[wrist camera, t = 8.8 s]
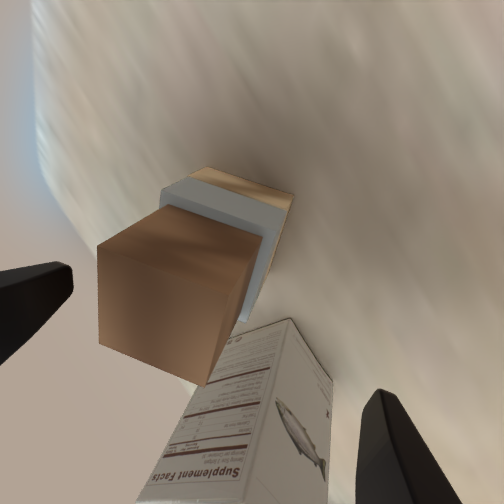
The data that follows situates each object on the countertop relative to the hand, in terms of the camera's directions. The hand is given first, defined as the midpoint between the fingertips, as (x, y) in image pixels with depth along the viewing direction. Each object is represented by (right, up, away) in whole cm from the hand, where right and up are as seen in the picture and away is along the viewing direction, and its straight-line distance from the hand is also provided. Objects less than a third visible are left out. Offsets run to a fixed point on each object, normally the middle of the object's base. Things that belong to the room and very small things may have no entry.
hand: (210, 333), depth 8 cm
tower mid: (0, +3, +10) cm, 11 cm away
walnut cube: (-1, +2, +8) cm, 8 cm away
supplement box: (+3, -7, +17) cm, 19 cm away
